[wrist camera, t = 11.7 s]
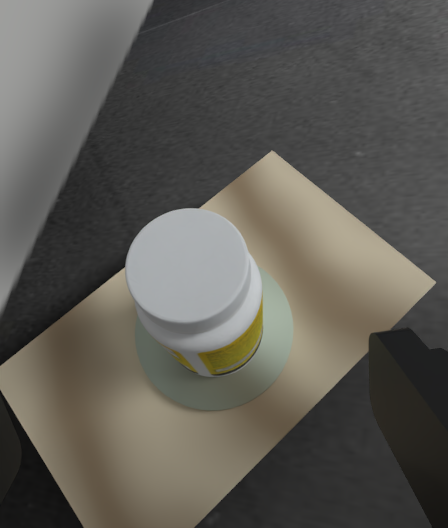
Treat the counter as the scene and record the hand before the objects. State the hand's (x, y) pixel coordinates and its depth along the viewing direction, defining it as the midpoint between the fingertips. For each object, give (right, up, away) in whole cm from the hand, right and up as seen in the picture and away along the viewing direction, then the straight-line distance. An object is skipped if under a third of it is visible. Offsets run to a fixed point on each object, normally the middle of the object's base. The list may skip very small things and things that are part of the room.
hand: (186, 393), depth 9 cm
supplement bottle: (0, -1, +12) cm, 12 cm away
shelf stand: (+1, -3, +18) cm, 18 cm away
